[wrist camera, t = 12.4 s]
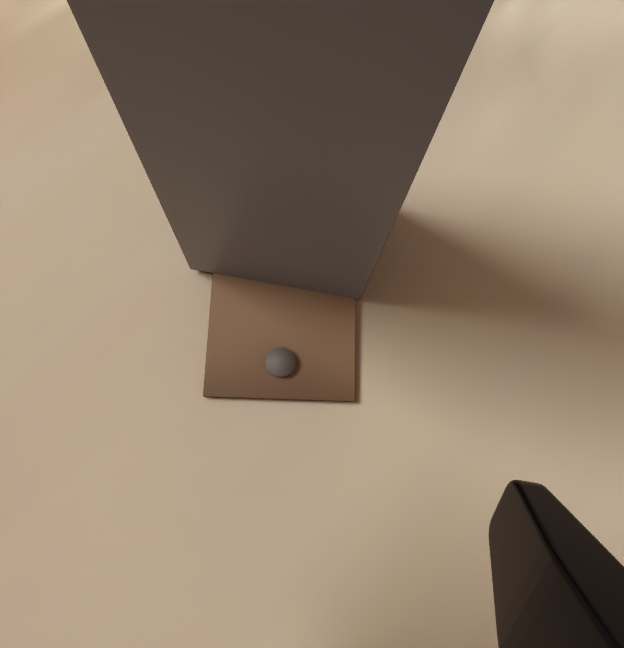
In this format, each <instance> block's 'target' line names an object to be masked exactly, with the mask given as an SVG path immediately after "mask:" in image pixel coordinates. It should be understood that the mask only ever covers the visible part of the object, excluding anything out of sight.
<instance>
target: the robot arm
mask: <svg viewBox="0 0 624 648" xmlns="http://www.w3.org/2000/svg"><path fill="white" fill-rule="evenodd" d="M489 546H490V557H491V569H492V581H493V592H494V604H495V616H496V627H497V637H498V646H499V648H624V566H623V565H622V564H621V563H620V562H619V561H618V560H617V559H616V558H615V557H614V556H613V555H612V554H611V553H610V552H609V551H608V550H607V549H606V548H605V547H604V546H603V545H602V544H601V543H600V542H599V541H598V540H597V539H596V538H595V537H594V536H593V535H592V534H591V533H590V532H589V531H588V530H587V529H586V528H585V527H584V526H583V525H582V524H581V523H580V522H579V521H578V520H577V519H576V518H575V517H574V516H573V514H572V513H571V512H570V511H569V510H568V509H567V508H566V507H565V506H564V505H563V504H562V503H561V502H560V501H559V500H558V499H557V498H556V497H555V496H554V495H553V494H552V493H551V492H550V491H549V490H548V489H547V488H546V487H544V486H543V485H541V484H538V483H533V482H527V481H522V480H512V481H511V482H509V483H508V485H507V486H506V488H505V490H504V493H503V495H502V497H501V499H500V501H499V503H498V505H497V508H496V510H495V512H494V514H493V516H492V519H491V522H490V526H489Z"/></svg>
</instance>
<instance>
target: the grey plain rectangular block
mask: <svg viewBox="0 0 624 648" xmlns="http://www.w3.org/2000/svg"><path fill="white" fill-rule="evenodd" d="M67 2H68V4H69V6H70V8H71V10H72V13H73V15H74V17H75V19H76V21H77V23H78V26H79V28H80V30H81V32H82V34H83V36H84V39H85V41H86V43H87V45H88V47H89V49H90V52H91V54H92V56H93V58H94V60H95V62H96V65H97V67H98V69H99V71H100V73H101V75H102V78H103V80H104V82H105V84H106V86H107V88H108V91H109V93H110V95H111V97H112V99H113V102H114V104H115V106H116V108H117V110H118V112H119V115H120V117H121V119H122V121H123V123H124V125H125V128H126V130H127V132H128V134H129V136H130V138H131V141H132V143H133V145H134V147H135V149H136V151H137V154H138V156H139V158H140V160H141V162H142V164H143V167H144V169H145V171H146V173H147V175H148V177H149V180H150V182H151V184H152V186H153V188H154V191H155V193H156V195H157V197H158V199H159V201H160V204H161V206H162V208H163V210H164V212H165V214H166V217H167V219H168V221H169V223H170V225H171V227H172V230H173V232H174V234H175V236H176V238H177V240H178V243H179V245H180V247H181V249H182V251H183V253H184V256H185V258H186V260H187V262H188V264H189V266H190V269H194V270H200V271H205V272H211V273H216V274H222V275H227V276H233V277H239V278H244V279H250V280H255V281H261V282H266V283H272V284H277V285H283V286H289V287H294V288H300V289H305V290H311V291H316V292H322V293H327V294H333V295H339V296H344V297H350V298H355V299H360V298H361V295H362V293H363V291H364V289H365V287H366V284H367V282H368V280H369V278H370V275H371V273H372V271H373V269H374V267H375V264H376V262H377V260H378V258H379V255H380V253H381V251H382V249H383V247H384V244H385V242H386V240H387V238H388V235H389V233H390V231H391V229H392V227H393V224H394V222H395V220H396V218H397V215H398V213H399V211H400V209H401V207H402V204H403V202H404V200H405V198H406V195H407V193H408V191H409V189H410V187H411V184H412V182H413V180H414V178H415V175H416V173H417V171H418V169H419V167H420V164H421V162H422V160H423V158H424V155H425V153H426V151H427V149H428V147H429V144H430V142H431V140H432V138H433V135H434V133H435V131H436V129H437V126H438V124H439V122H440V120H441V118H442V115H443V113H444V111H445V109H446V106H447V104H448V102H449V100H450V98H451V95H452V93H453V91H454V89H455V86H456V84H457V82H458V80H459V78H460V75H461V73H462V71H463V69H464V66H465V64H466V62H467V60H468V58H469V55H470V53H471V51H472V49H473V46H474V44H475V42H476V40H477V38H478V35H479V33H480V31H481V29H482V26H483V24H484V22H485V20H486V18H487V15H488V13H489V11H490V9H491V6H492V4H493V2H494V0H67Z"/></svg>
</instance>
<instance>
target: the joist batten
mask: <svg viewBox="0 0 624 648" xmlns="http://www.w3.org/2000/svg"><path fill="white" fill-rule="evenodd" d="M203 396H204V397H227V398H258V399H288V400H318V401H348V402H354V401H355V298H350V297H344V296H339V295H333V294H327V293H322V292H316V291H311V290H305V289H300V288H294V287H289V286H283V285H277V284H272V283H266V282H261V281H255V280H250V279H244V278H239V277H233V276H227V275H222V274H216V273H213V277H212V290H211V303H210V315H209V328H208V341H207V353H206V366H205V379H204V391H203Z"/></svg>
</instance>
